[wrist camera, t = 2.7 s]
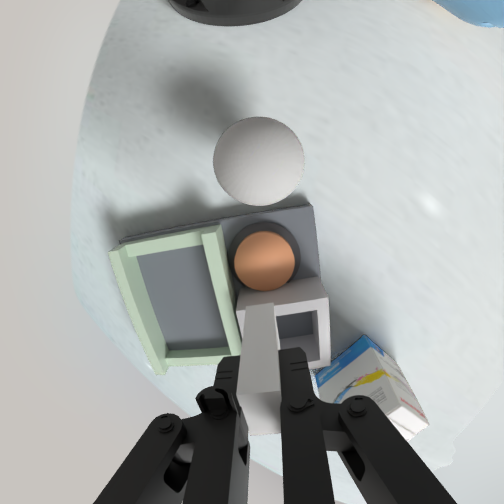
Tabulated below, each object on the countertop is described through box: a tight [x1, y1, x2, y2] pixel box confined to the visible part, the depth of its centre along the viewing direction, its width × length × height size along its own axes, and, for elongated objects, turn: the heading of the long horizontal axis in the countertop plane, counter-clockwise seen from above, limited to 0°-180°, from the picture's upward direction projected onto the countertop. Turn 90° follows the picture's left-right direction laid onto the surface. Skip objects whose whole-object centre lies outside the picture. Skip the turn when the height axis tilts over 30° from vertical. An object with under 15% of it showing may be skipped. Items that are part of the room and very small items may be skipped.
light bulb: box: [213, 117, 305, 206], centre depth 19 cm, size 6×6×10 cm
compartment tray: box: [108, 204, 331, 375], centre depth 25 cm, size 15×19×6 cm
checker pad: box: [234, 231, 295, 291], centre depth 24 cm, size 5×5×1 cm
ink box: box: [315, 335, 429, 441], centre depth 25 cm, size 9×8×12 cm
